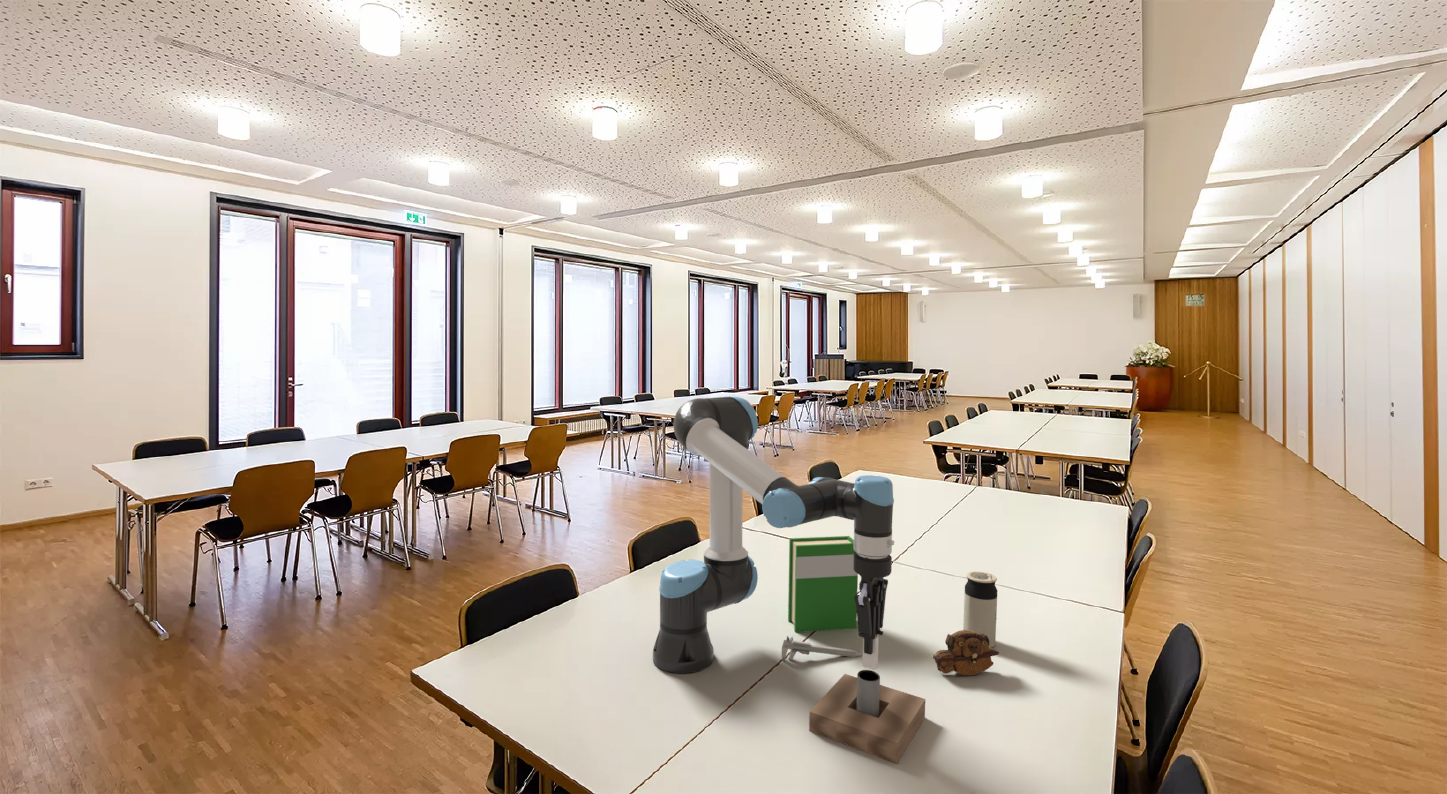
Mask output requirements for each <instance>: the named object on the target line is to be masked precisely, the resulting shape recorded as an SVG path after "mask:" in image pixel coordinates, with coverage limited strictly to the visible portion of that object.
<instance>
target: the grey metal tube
mask: <svg viewBox="0 0 1447 794" xmlns="http://www.w3.org/2000/svg"><path fill="white" fill-rule="evenodd" d="M856 675H857V709H856V710H857V711H859V712H862V713H865V714H868V715H871V716H874V717H877V718H879V697H880V685H881V676H880V674H879V673H877V672H876V671H875V670H872V669H863V670H859V671H858V672H857V674H856Z"/></svg>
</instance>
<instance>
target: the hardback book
mask: <svg viewBox="0 0 1447 794" xmlns="http://www.w3.org/2000/svg"><path fill="white" fill-rule="evenodd" d="M788 542H789V544H788V545H789V547H788V552H789V553H788V601H787V602H788V603H787V607H788V608H787V609H788V610H787V622H788V623H793V629H794V630H793V631H794V632H795V633H802V632H803V633H804V632H817V631H819V632H821V631H834V630H835V631H837V630H849V629H850V630H851V629H858V621H857V608H856V603H855V599H854V597H855V595H856V594H857V595H858V589H859V586H858V585H859V584H858V581H859V579H858V578H859V574H857V573H856V572H855V571H854V569H853V561H854V553H855V551H854V549H853V547H854V538H852V537H851V536H849V535H838V536H835V535H834V536H818V537H817V536H816V537H814V536H813V537H790V538H789V541H788Z"/></svg>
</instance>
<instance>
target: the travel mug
mask: <svg viewBox="0 0 1447 794" xmlns="http://www.w3.org/2000/svg"><path fill="white" fill-rule="evenodd" d="M965 577H967V581H966V583H965V585H964V599H963V600H964V601H963V624H962V625H963V626H962V627H963V629H962V630H970V631H974V632H977V633H984V635H987V637H988V638H989V648H993V647H995V646H996V637H997V636H996V634H997V610H998V589H997V587H996V582H997V580H998V578H997V576H995V575H994V574H991V573H988V572H985V571H976V570H975V571H969V572H967V573H966V576H965Z"/></svg>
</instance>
